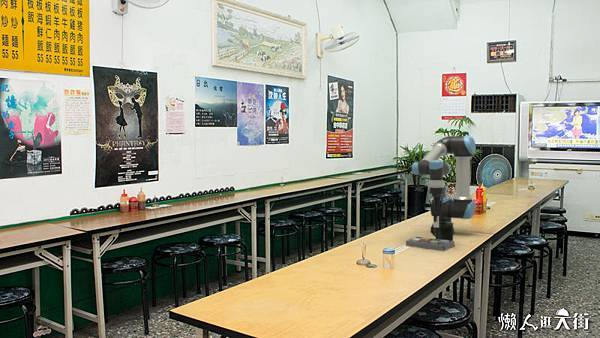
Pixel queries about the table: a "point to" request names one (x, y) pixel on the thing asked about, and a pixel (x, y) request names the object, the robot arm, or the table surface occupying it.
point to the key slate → (443, 242)
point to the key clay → (425, 239)
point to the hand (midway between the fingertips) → (436, 227)
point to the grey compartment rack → (429, 244)
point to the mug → (444, 231)
